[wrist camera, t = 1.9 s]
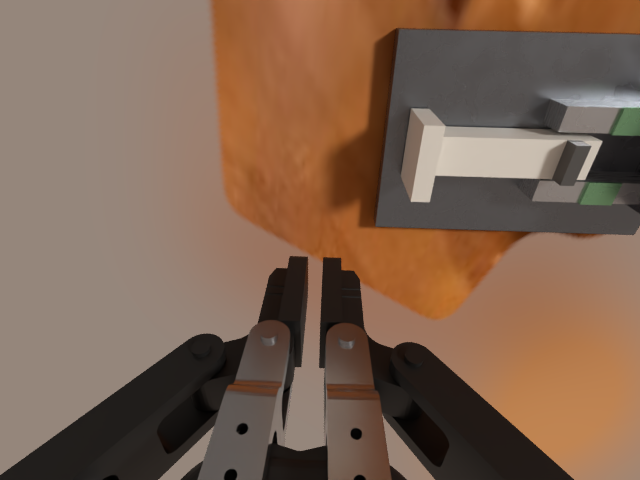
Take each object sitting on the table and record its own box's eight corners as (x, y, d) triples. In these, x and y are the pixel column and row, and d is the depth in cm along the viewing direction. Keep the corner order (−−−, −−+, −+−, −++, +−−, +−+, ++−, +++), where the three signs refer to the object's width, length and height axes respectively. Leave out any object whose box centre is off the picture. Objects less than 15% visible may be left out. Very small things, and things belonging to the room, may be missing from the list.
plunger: (411, 108, 27) (424, 125, 23) (587, 112, 27) (631, 131, 23) (400, 176, 30) (410, 201, 26) (558, 181, 30) (593, 207, 26)
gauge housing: (396, 28, 26) (419, 35, 19) (731, 35, 26) (884, 46, 18) (373, 218, 35) (384, 272, 28) (623, 226, 34) (698, 283, 27)
